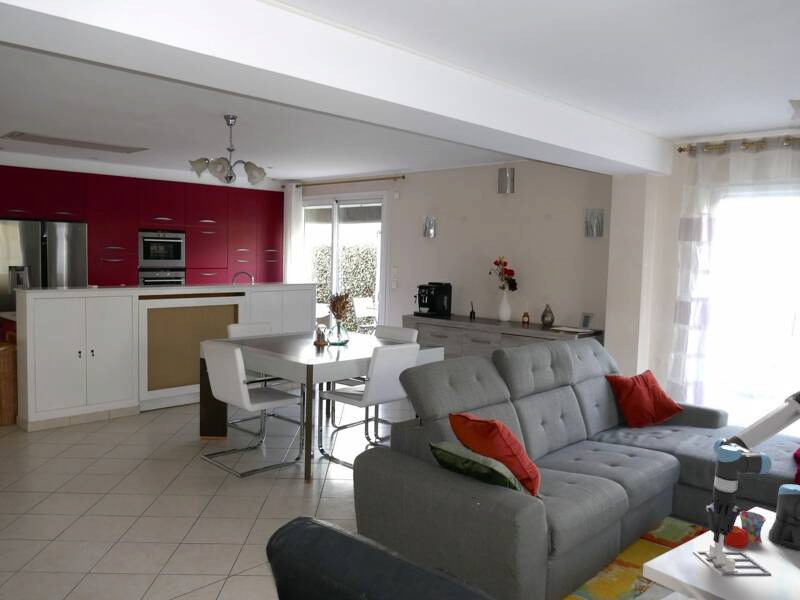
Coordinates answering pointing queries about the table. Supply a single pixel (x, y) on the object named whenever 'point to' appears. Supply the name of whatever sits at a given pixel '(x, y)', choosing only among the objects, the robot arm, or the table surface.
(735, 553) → the switch bank
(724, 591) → the table surface
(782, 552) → the table surface
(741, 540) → the tomato
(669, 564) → the table surface
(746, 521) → the mug
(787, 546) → the robot arm
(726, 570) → the tab
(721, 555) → the tab
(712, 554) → the tab
